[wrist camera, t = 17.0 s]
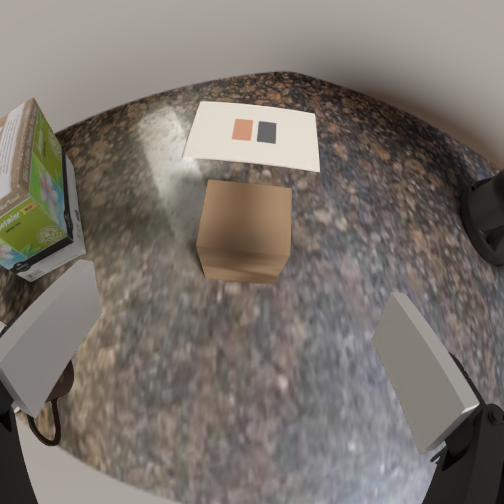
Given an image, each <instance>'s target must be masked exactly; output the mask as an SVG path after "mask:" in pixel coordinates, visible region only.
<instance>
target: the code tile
mask: <svg viewBox="0 0 504 504" xmlns="http://www.w3.org/2000/svg"><path fill="white" fill-rule="evenodd" d="M183 158H198V159H212V160H225V161H236V162H246V163H255V164H264V165H272V166H280V167H287V168H294V169H301V170H308V171H314V172H320V167H319V153H318V142H317V131H316V121H315V114H312V113H307V112H301V111H295V110H288V109H282V108H274V107H267V106H258V105H248V104H237V103H223V102H203V101H201V102H200V104H199V107H198V110H197V113H196V116H195V119H194V122H193V125H192V128H191V131H190V134H189V137H188V140H187V144H186V147H185V150H184V153H183Z"/></svg>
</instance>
